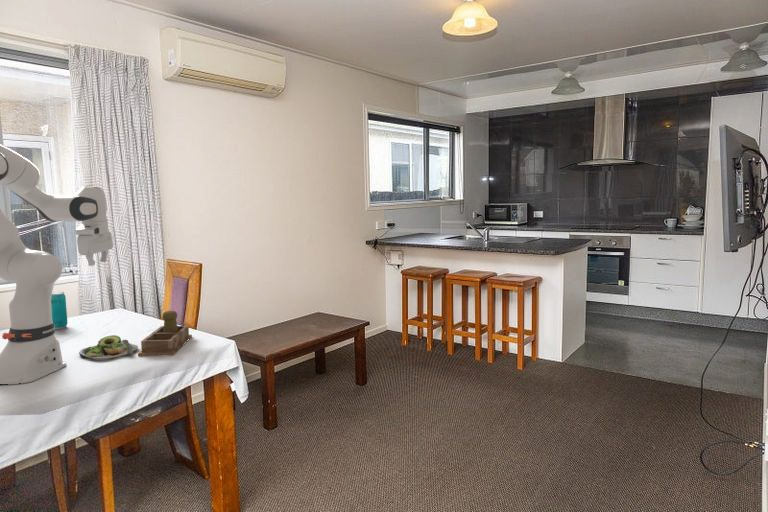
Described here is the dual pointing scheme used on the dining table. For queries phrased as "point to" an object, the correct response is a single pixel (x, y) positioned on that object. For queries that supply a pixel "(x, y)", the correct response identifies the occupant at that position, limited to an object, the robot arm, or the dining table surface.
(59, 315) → the beverage can
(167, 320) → the cork
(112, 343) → the salad plate
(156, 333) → the walnut rack
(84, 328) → the dining table surface
